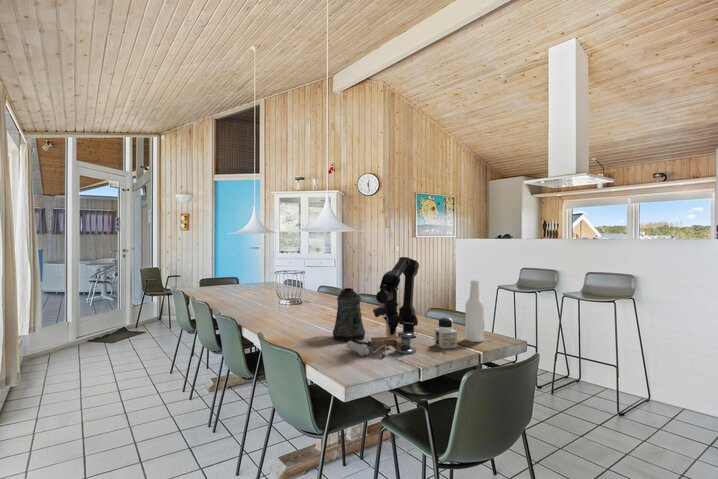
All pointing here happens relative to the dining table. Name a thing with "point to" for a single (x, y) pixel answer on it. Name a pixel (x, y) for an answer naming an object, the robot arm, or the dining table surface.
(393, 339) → the notched board
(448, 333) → the container
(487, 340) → the dining table surface
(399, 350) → the bobbin
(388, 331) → the block
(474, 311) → the alcohol
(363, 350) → the clip-on lamp
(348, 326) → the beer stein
